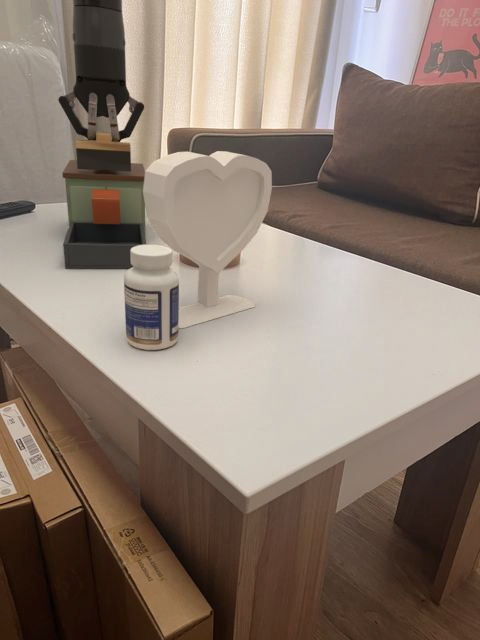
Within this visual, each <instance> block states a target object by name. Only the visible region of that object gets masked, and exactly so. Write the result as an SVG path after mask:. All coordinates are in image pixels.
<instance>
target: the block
mask: <svg viewBox="0 0 480 640" xmlns="http://www.w3.org/2000/svg"><path fill="white" fill-rule="evenodd" d="M92 211H93V223H94V224H121V218H120V194H119V190H103V189H92Z"/></svg>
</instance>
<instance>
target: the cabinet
mask: <svg viewBox="0 0 480 640" xmlns="http://www.w3.org/2000/svg"><path fill="white" fill-rule="evenodd" d="M145 171H146V169H145V166H144V164H143V163H140V162H139V163H138V162H136V163H135V162H131V172H127V171H108V170H88V169H77V159H70V160H69V161H68V162H67V164H66V166H65V168H64V169H63V171H62V178H63V179H64V181H65V182H64V183H65V195H66V204H67V205H66V208H67V218H68V220H67V221H68V226H69V225H70V222H71V221H72V222H93V211H92V189H103V190H119V194H120V218H121V223H143V226H144V232H145V237H146V238H147V236H146V235H147V233H146V208H145V202H144V195H143V186H144V178H145Z"/></svg>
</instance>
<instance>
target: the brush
mask: <svg viewBox="0 0 480 640" xmlns="http://www.w3.org/2000/svg"><path fill="white" fill-rule="evenodd" d="M111 140H112V135H111V131H108V130H107V131H106V130H96V141H95V140H88V139H79V138H77V139H76V140H75V153H76V160H77V169H88V170H108V171H127V172H131V163H132V154H131V153H132V152H131V149H132V148H131V143H130V142H127V141H125V142H123V141H120V142H111Z"/></svg>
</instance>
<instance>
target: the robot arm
mask: <svg viewBox="0 0 480 640" xmlns="http://www.w3.org/2000/svg"><path fill="white" fill-rule="evenodd" d="M72 6H73V7H72V41H73V52H74V68H75V83H74V85H73V89H72V91H71V92H69V93H67V94H65V95H60V96H59V97H58V98H57V99H58V103H59V105H60V106H61V108H62V111H64V113H65V116H66V117H67V120H68V121H69V122H70V124H71V126H72V128H73V130H74V131H75V134H77V135H79V136H82V137H85V138H86V140H95V141H96V133H97V123H98V118H100V117H104V118H108V119H109V120H108V121H109V127H110V132H111V142H122V140H125V139H130V138H131V136H132V134H133V132H134V129H135V128H136V125H137V124H138V122H139V121H140V118H141V116H142V114H143V111H144V110H145V104H144V103H143V102H142V101H138V100H137V99H135V98H134V97H132V96H131V95H130V91H129V89H128V87H127V67H126V65H127V64H126V45H127V44H126V42H127V41H126V33H125V22H124V17H123V16H124V15H123V0H72ZM75 100H77V101H78V102H79V103H80V105H81V106H82V107H83V109H84V110H85V112H86V113H87V114H88V115H87V127H84V126H83V124H82V122H81V120H80V118H79V117H78V115H77V113H76V111H75V110H74V108H76V101H75ZM127 103H128V104H129V105H128V111H129V113H131V114H130V116H129V117H128V120H127V122H126V124H125V127H124V128H123V129H122V130H119V123H118V116H119V114H120V113H121V112H122V110H123V109H124V107H125V106H126V105H127Z"/></svg>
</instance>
